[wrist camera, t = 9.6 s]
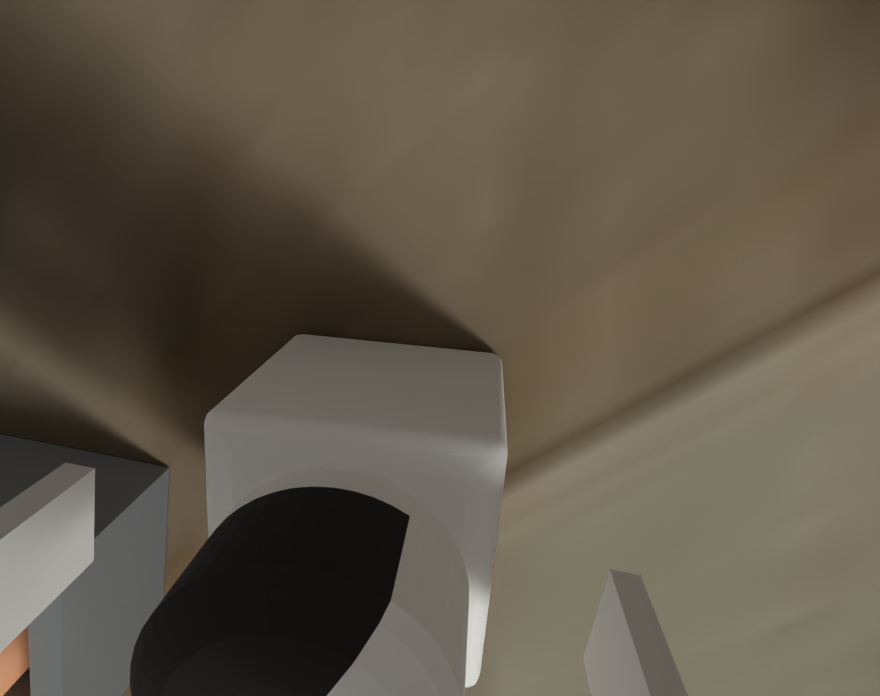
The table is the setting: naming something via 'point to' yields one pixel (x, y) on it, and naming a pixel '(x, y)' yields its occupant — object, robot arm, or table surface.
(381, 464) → the medicine bottle
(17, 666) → the plunger
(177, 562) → the table surface
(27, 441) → the grey plunger block
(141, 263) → the table surface
